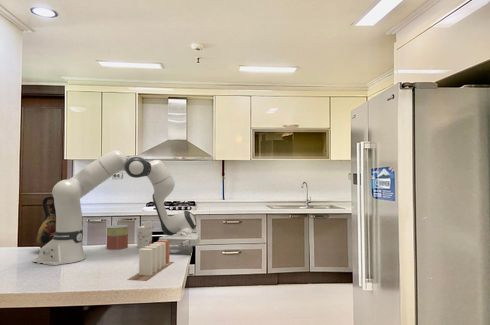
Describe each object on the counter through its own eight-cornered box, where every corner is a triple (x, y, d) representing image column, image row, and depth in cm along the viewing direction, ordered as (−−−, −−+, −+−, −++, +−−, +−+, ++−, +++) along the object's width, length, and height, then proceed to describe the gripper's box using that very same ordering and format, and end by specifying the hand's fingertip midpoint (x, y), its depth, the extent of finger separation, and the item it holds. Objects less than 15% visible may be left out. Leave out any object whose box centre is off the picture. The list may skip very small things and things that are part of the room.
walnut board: (126, 282, 117) (126, 279, 117) (158, 263, 142) (158, 261, 142) (146, 284, 115) (146, 280, 115) (174, 264, 141) (174, 261, 141)
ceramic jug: (75, 248, 175) (76, 195, 177) (60, 254, 160) (61, 196, 161) (44, 248, 175) (45, 195, 176) (26, 255, 159) (27, 197, 161)
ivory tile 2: (163, 266, 134) (164, 243, 134) (153, 266, 134) (153, 243, 135) (165, 265, 135) (165, 242, 136) (154, 265, 136) (155, 242, 137)
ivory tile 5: (150, 275, 122) (150, 249, 122) (138, 274, 123) (139, 249, 123) (152, 274, 123) (152, 248, 124) (141, 273, 124) (141, 248, 125)
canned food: (120, 244, 184) (120, 224, 184) (132, 247, 177) (132, 226, 178) (102, 248, 174) (102, 226, 175) (113, 251, 168) (114, 228, 168)
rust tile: (167, 264, 138) (167, 241, 138) (157, 263, 138) (157, 241, 139) (169, 263, 139) (169, 240, 140) (158, 262, 140) (159, 240, 140)
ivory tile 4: (155, 272, 126) (155, 247, 126) (143, 271, 127) (144, 247, 127) (157, 271, 127) (157, 246, 128) (145, 270, 128) (146, 246, 129)
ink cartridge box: (144, 244, 183) (144, 219, 183) (152, 245, 182) (152, 219, 182) (136, 248, 174) (136, 221, 175) (144, 248, 173) (144, 222, 174)
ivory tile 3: (159, 269, 130) (159, 245, 130) (148, 268, 131) (148, 244, 131) (161, 268, 131) (161, 244, 132) (150, 267, 132) (150, 244, 133)
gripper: (165, 231, 165) (153, 236, 151) (202, 232, 161) (192, 237, 147) (165, 243, 164) (153, 249, 151) (202, 244, 161) (192, 251, 147)
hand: (173, 243), depth 149 cm, fingers open, 8 cm apart
